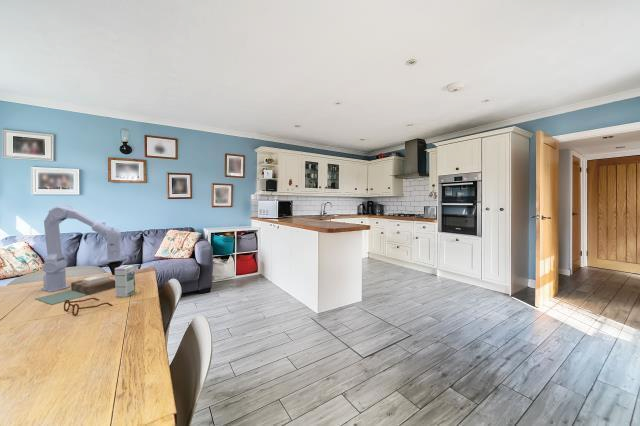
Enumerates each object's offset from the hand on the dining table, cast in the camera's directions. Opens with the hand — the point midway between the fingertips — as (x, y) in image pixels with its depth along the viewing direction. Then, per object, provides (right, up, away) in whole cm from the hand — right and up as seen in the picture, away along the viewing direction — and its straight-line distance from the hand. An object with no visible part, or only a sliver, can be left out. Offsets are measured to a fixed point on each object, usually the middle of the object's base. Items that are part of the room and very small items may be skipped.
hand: (114, 274), depth 146 cm
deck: (-4, -5, -9) cm, 11 cm away
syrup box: (+19, -6, -17) cm, 26 cm away
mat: (-9, -6, -21) cm, 23 cm away
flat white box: (-4, -1, -8) cm, 9 cm away
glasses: (+14, -7, -32) cm, 36 cm away
